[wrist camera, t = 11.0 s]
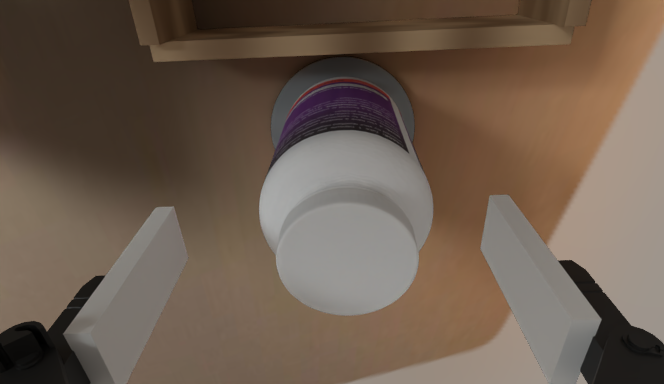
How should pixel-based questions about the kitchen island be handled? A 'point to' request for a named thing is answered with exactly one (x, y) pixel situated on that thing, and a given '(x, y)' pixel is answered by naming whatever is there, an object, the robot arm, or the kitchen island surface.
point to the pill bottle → (346, 199)
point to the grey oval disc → (333, 69)
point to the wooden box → (351, 32)
